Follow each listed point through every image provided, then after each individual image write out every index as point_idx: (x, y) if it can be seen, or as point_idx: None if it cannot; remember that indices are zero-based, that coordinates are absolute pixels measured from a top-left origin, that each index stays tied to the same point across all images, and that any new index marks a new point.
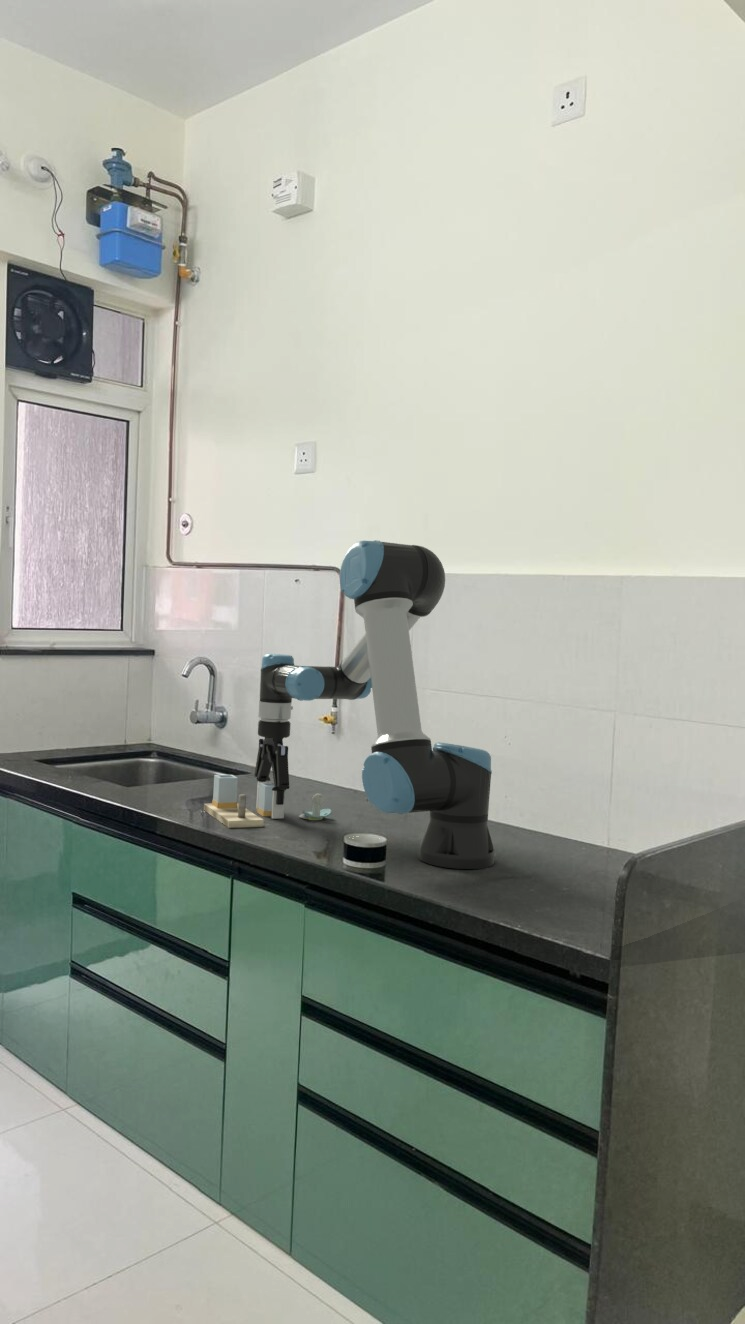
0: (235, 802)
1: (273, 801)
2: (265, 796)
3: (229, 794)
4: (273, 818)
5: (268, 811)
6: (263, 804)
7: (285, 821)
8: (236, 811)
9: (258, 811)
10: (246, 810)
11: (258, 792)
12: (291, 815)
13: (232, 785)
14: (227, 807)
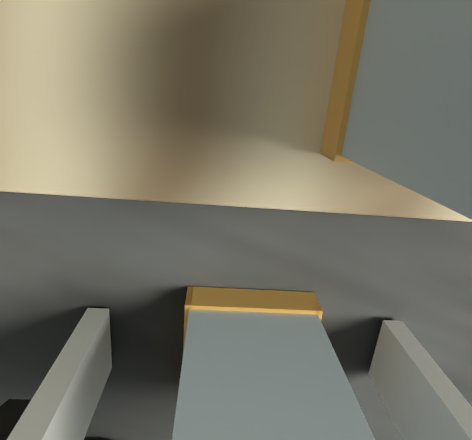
0: (343, 145)
1: (33, 400)
2: (177, 398)
3: (400, 71)
4: (87, 313)
5: (184, 332)
6: (207, 338)
7: (27, 351)
8: (162, 81)
9: (290, 297)
10: (189, 184)
11: (447, 413)
12: None
13: (470, 112)
14: (337, 62)
